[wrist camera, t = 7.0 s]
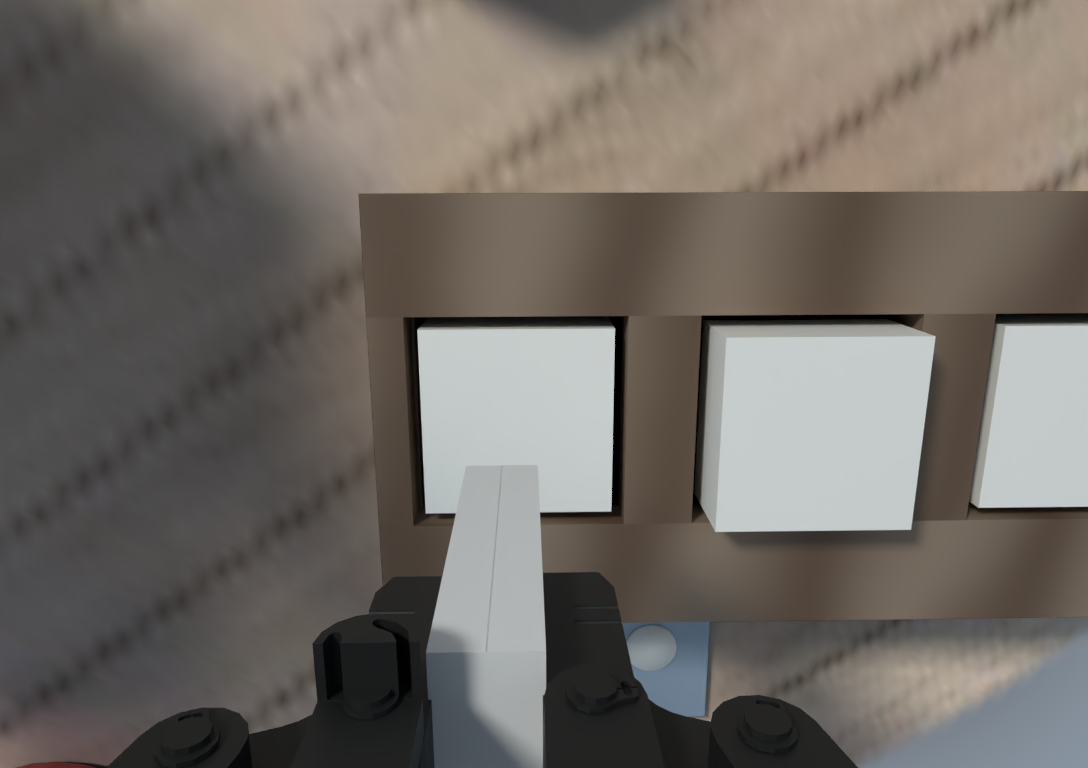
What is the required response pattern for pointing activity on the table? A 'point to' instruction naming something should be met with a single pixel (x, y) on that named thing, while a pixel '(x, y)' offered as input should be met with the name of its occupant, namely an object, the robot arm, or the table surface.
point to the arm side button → (519, 405)
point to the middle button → (811, 424)
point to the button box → (673, 370)
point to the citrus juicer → (56, 765)
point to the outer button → (1034, 414)
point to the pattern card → (671, 663)
